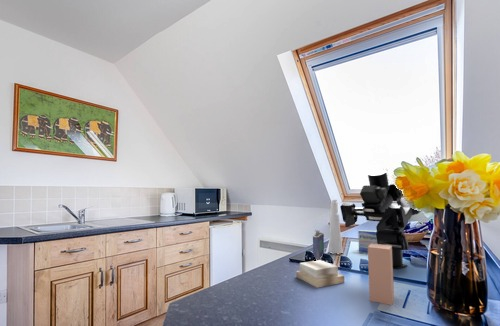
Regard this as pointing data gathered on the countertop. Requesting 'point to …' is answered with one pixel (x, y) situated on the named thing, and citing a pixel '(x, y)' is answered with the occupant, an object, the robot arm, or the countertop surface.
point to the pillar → (380, 273)
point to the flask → (318, 244)
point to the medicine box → (366, 239)
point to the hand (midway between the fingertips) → (360, 227)
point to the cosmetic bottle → (335, 230)
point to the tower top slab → (318, 269)
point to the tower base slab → (320, 279)
